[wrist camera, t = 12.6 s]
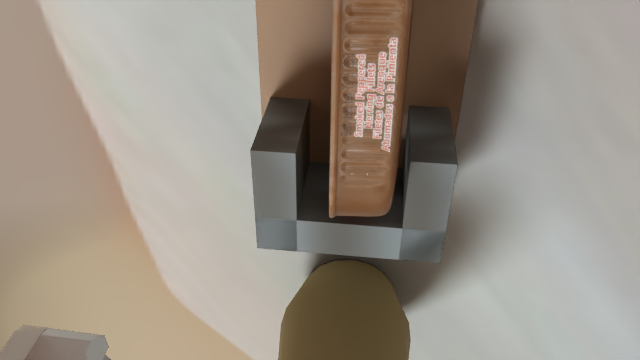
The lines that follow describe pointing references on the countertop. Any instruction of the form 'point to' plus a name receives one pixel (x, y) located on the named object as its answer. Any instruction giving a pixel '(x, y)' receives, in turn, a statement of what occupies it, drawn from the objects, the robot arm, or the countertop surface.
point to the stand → (314, 134)
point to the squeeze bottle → (345, 316)
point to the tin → (367, 103)
